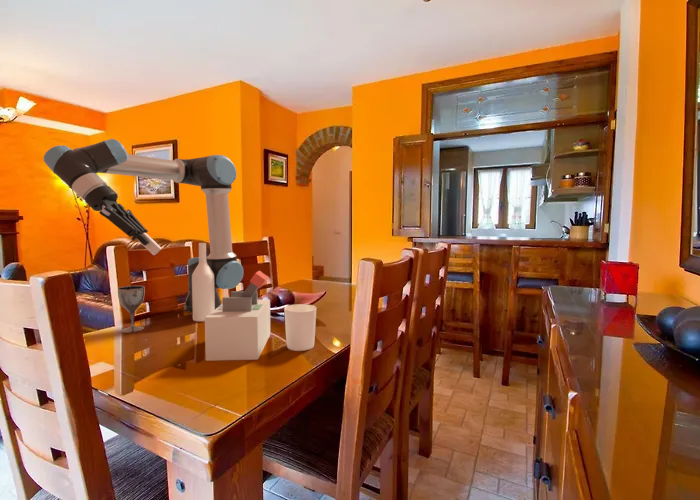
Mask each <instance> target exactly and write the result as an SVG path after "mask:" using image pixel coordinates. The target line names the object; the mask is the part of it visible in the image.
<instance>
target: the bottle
mask: <svg viewBox="0 0 700 500" xmlns="http://www.w3.org/2000/svg"><path fill="white" fill-rule="evenodd" d="M206 256H207V243H206V242H198V257H199V264H198V266H197V267H196V269H195V270H194V272H193V274H192V306H193V312H192V320H193V321H194V322H205V317H206V316H207V315H209V314H210V313H211V312H212V311H214V310H215V291H214V273H213V271H212V270H211V268H210V267H209V266H208V264H207V260H206Z"/></svg>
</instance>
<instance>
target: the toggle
mask: <svg viewBox="0 0 700 500" xmlns="http://www.w3.org/2000/svg"><path fill="white" fill-rule="evenodd" d="M269 277H270V276H268V275H266V274H265V273H264V272H262V271H261V270H258V271H257V272H255V273H254V274H253V276H252V277H251V279H250V280H249V285H248V286H247V287H246V288H245V290H244V293H243V294H242V295H241V297H251V298H252V296H253V295H254V294H255V292H256V291H257V292H258V289H261V288H262V287H263V286H264V284H266V282H267V280H268V279H269Z"/></svg>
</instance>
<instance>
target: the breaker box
mask: <svg viewBox="0 0 700 500" xmlns="http://www.w3.org/2000/svg"><path fill="white" fill-rule="evenodd" d="M244 291H245V290H244ZM244 291H243V290H241V291H237V290H235V291H230V296H228V297H225V296H224V297H222V299H221V302H222V305H220V306H219V307H218V308H216V309H215V310H214V311H212V312H211V313H210V314H209V315H207V316H206V317H205V321H204V336H205V337H204V339H205V340H204V341H205V342H204V343H205V361H206V362H207V361H210V362H211V361H249V360H250V361H253V360H254V361H256V360H257V361H258V360H259V359H260V356H261V354H262V352H263V351H264V348H265V346H266V344H267V342H268V340H269V338H270V337H271V299H258V290H257V291H256V292H255V294H254V295H253V296H252V298H251V297H241V295H242V294H243V293H244Z"/></svg>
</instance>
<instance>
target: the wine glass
mask: <svg viewBox="0 0 700 500" xmlns="http://www.w3.org/2000/svg"><path fill="white" fill-rule="evenodd" d="M145 291H146V290H145V285H140V284H139V285H137V284H136V285H135V284H134V285H126V286H120V287H117V298H118V302H119V304H120V305H121V307H122V308H124V309H125V310H126V311H127V312H128V313H129V317H130V322H131V324H130V326H128V327H125V328H123V329H121V330H120V332H121V333H123V334H124V333H136V332H139V331H140V332H141V331H143V330H144V329H145V326H140V325H139V326H138V325H137V326H136V325H135V321H134V320H135V313H136V311H137V310H138V308H140V307H141V306H142V304H143V303H144V299H145V295H146V294H145V293H146V292H145Z"/></svg>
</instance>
